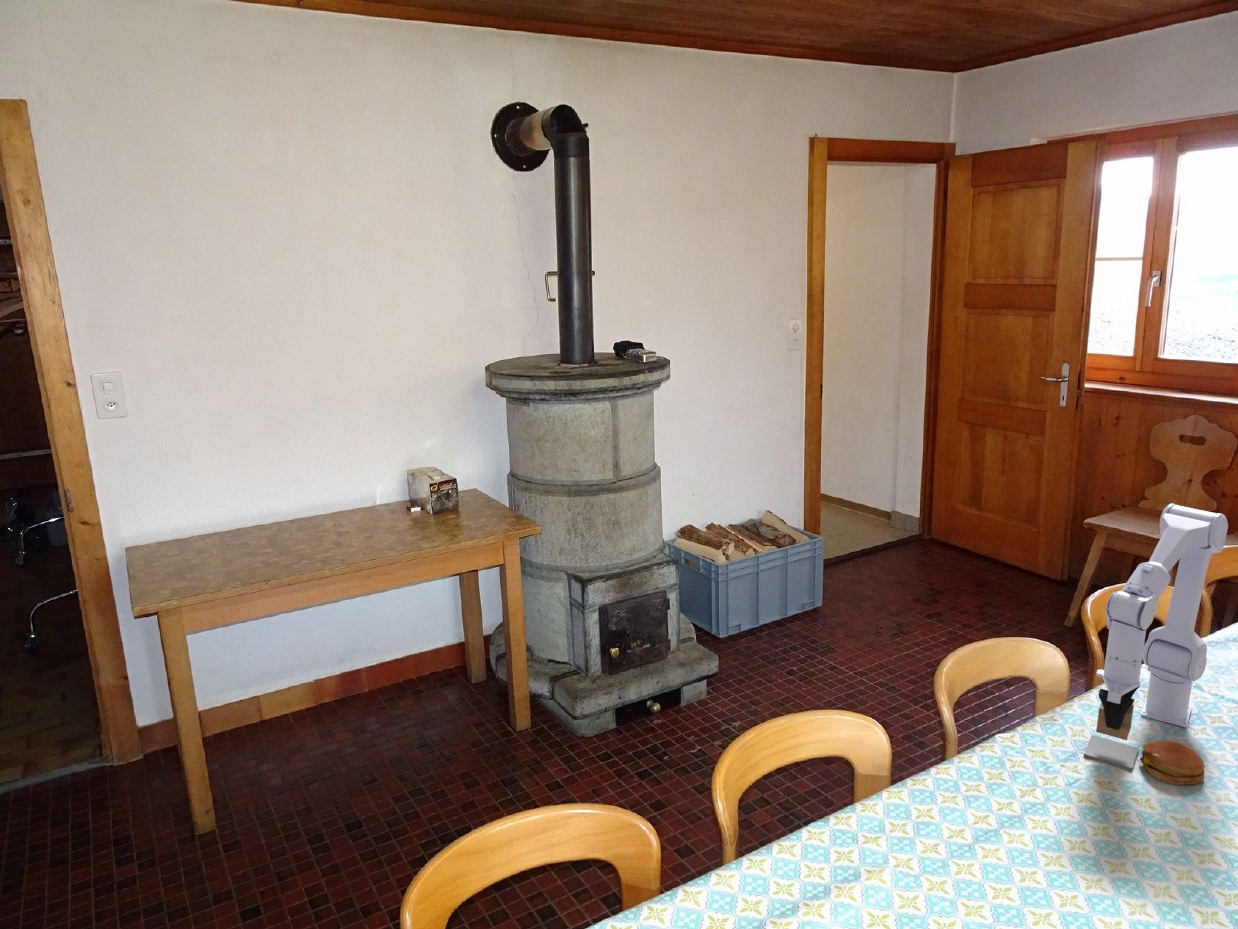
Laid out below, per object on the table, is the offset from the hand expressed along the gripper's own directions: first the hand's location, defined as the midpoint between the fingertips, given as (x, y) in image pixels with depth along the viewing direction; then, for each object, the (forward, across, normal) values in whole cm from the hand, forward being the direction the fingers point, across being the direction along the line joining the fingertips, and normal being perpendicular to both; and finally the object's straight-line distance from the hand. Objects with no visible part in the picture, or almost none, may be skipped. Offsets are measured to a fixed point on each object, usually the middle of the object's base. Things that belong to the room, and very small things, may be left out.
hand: (1115, 721), depth 163 cm
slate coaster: (+7, 0, 0) cm, 7 cm away
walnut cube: (+2, 0, 0) cm, 2 cm away
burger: (+7, 0, +10) cm, 12 cm away
